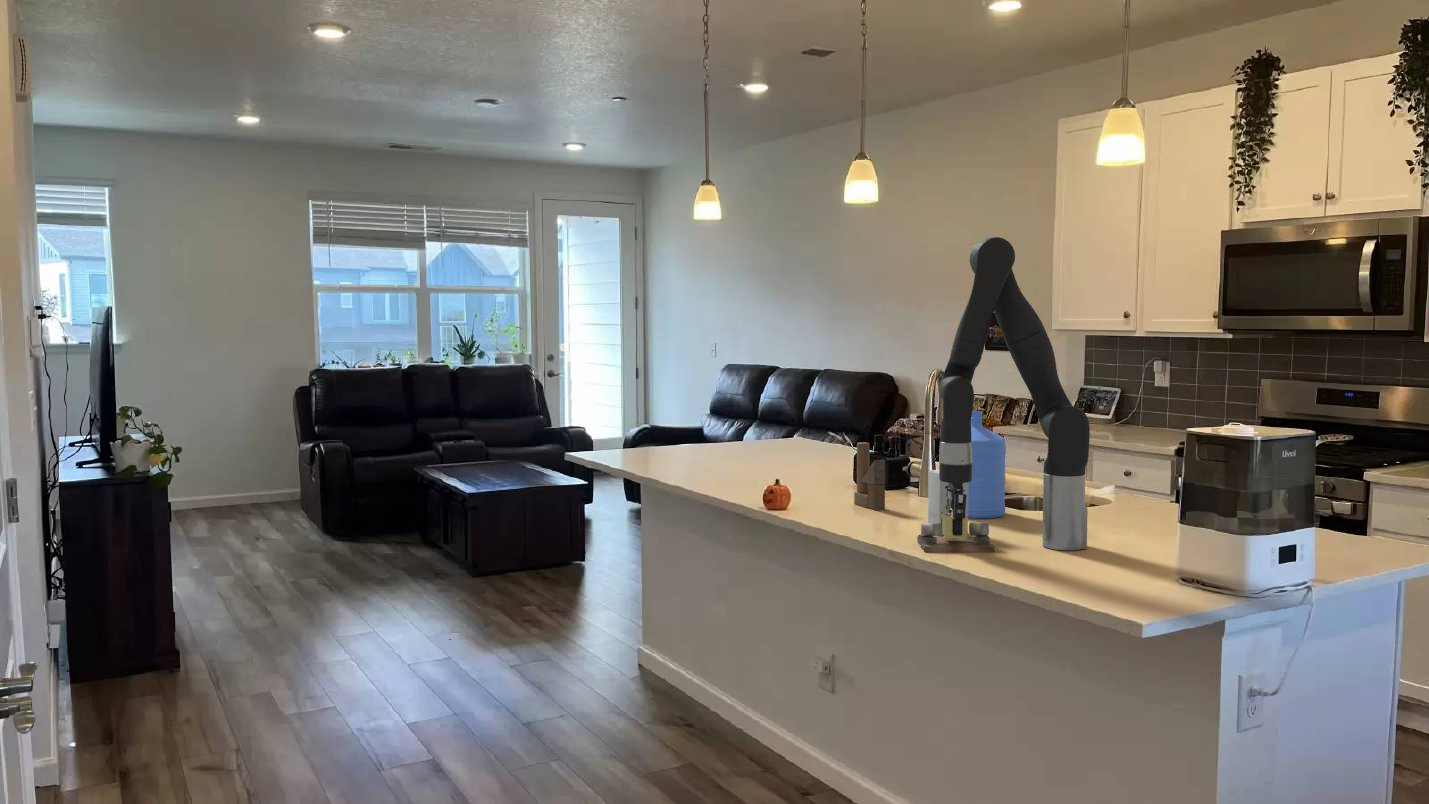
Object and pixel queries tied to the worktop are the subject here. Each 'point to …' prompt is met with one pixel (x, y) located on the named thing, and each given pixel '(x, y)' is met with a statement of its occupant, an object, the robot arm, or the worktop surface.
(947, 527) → the joint block
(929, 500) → the skincare box
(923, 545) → the rig
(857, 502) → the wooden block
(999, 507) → the water jug
